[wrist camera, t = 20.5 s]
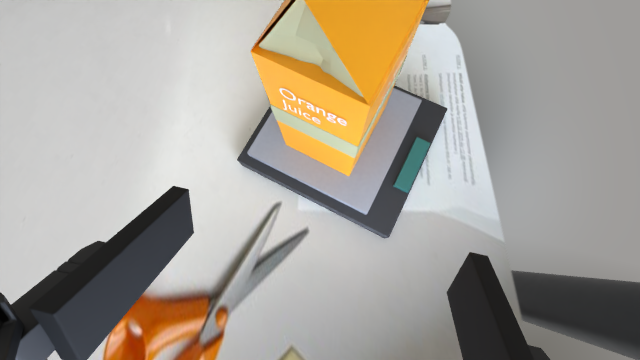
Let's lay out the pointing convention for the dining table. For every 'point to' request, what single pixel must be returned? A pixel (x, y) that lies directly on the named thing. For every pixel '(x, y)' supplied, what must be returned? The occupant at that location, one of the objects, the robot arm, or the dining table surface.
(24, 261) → the dining table surface
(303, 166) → the scale
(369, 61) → the orange juice
